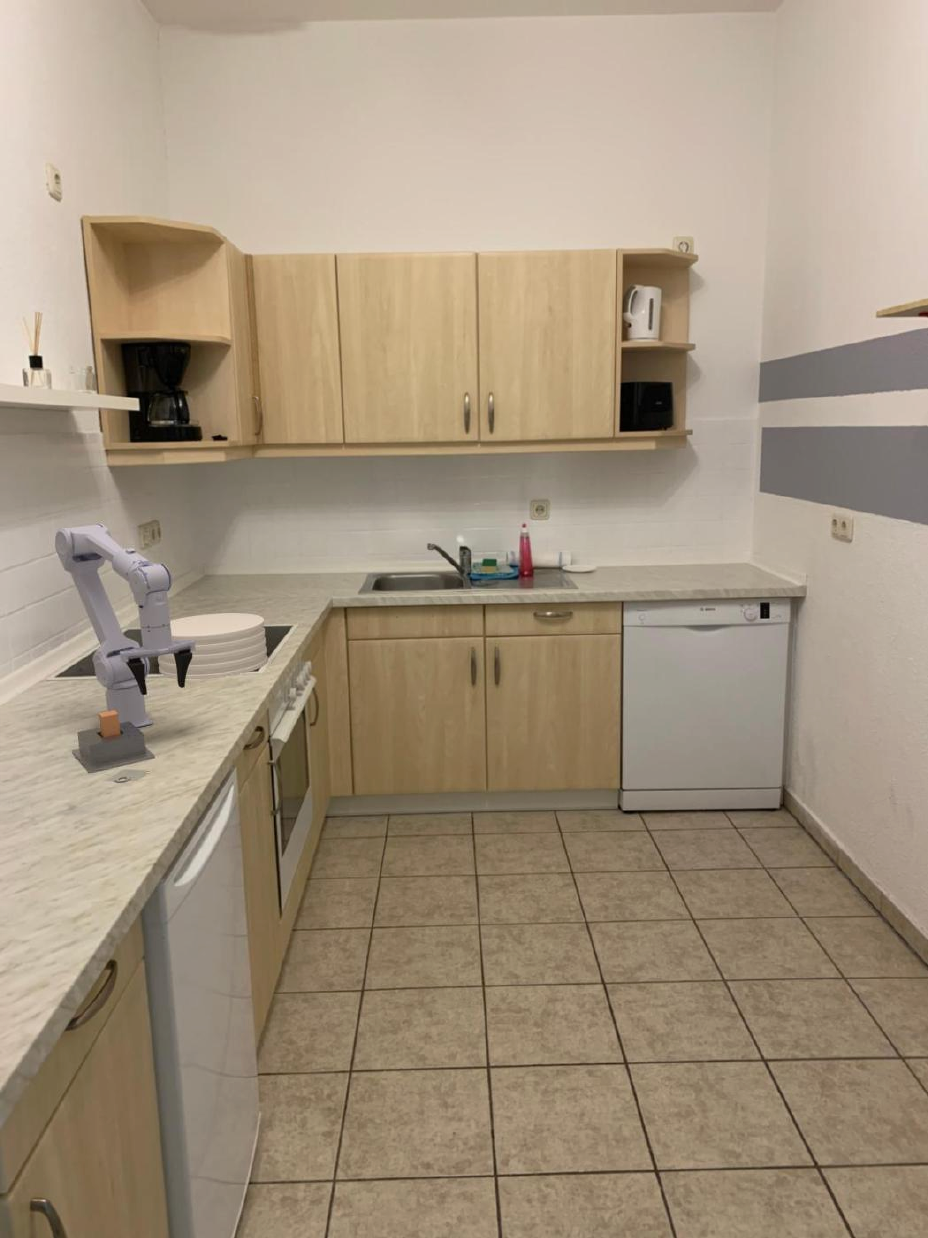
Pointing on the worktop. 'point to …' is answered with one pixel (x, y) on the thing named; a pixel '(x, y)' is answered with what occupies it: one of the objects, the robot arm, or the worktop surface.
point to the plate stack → (218, 645)
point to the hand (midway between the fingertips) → (162, 690)
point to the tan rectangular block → (109, 723)
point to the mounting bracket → (128, 775)
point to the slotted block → (111, 748)
